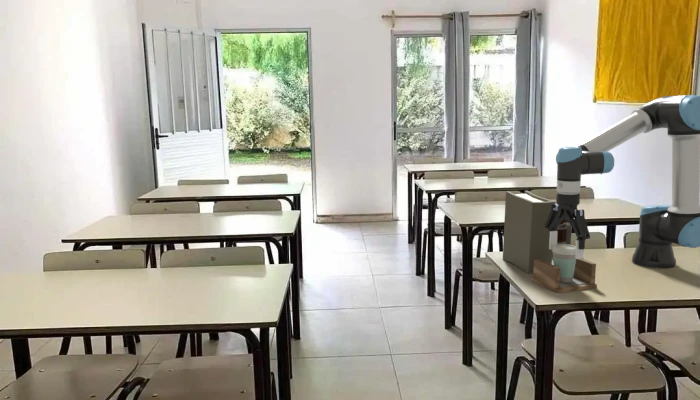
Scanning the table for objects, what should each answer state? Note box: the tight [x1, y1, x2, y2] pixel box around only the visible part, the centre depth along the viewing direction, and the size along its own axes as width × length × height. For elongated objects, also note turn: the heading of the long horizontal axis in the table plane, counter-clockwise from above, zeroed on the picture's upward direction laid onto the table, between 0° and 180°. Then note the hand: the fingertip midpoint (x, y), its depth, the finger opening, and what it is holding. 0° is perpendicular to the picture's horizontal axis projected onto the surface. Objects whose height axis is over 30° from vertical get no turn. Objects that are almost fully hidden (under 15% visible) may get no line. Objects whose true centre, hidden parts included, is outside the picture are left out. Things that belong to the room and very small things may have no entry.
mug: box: [555, 219, 573, 245], centre depth 244 cm, size 20×14×15 cm
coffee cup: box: [552, 244, 576, 283], centre depth 199 cm, size 8×8×12 cm
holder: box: [530, 258, 598, 294], centre depth 200 cm, size 16×14×8 cm
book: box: [502, 190, 557, 275], centre depth 222 cm, size 22×9×28 cm, turn 12°
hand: (565, 253), depth 199 cm, fingers open, 13 cm apart
